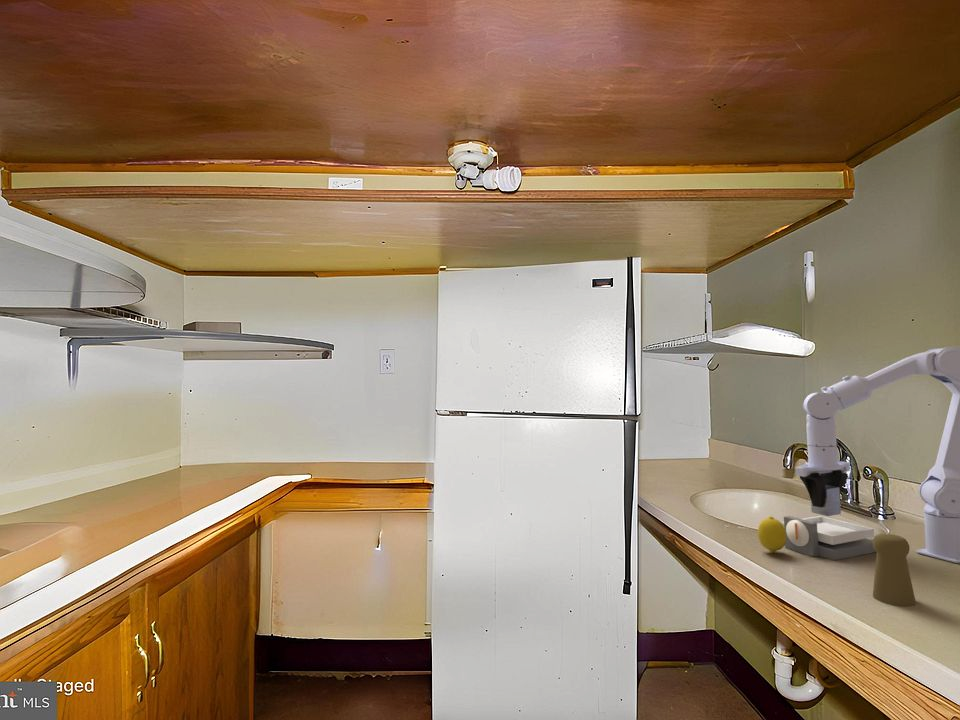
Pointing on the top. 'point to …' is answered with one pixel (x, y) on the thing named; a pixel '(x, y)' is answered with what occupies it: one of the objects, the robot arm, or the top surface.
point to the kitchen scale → (827, 537)
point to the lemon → (772, 534)
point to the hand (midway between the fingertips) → (825, 505)
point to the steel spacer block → (829, 502)
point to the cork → (892, 571)
